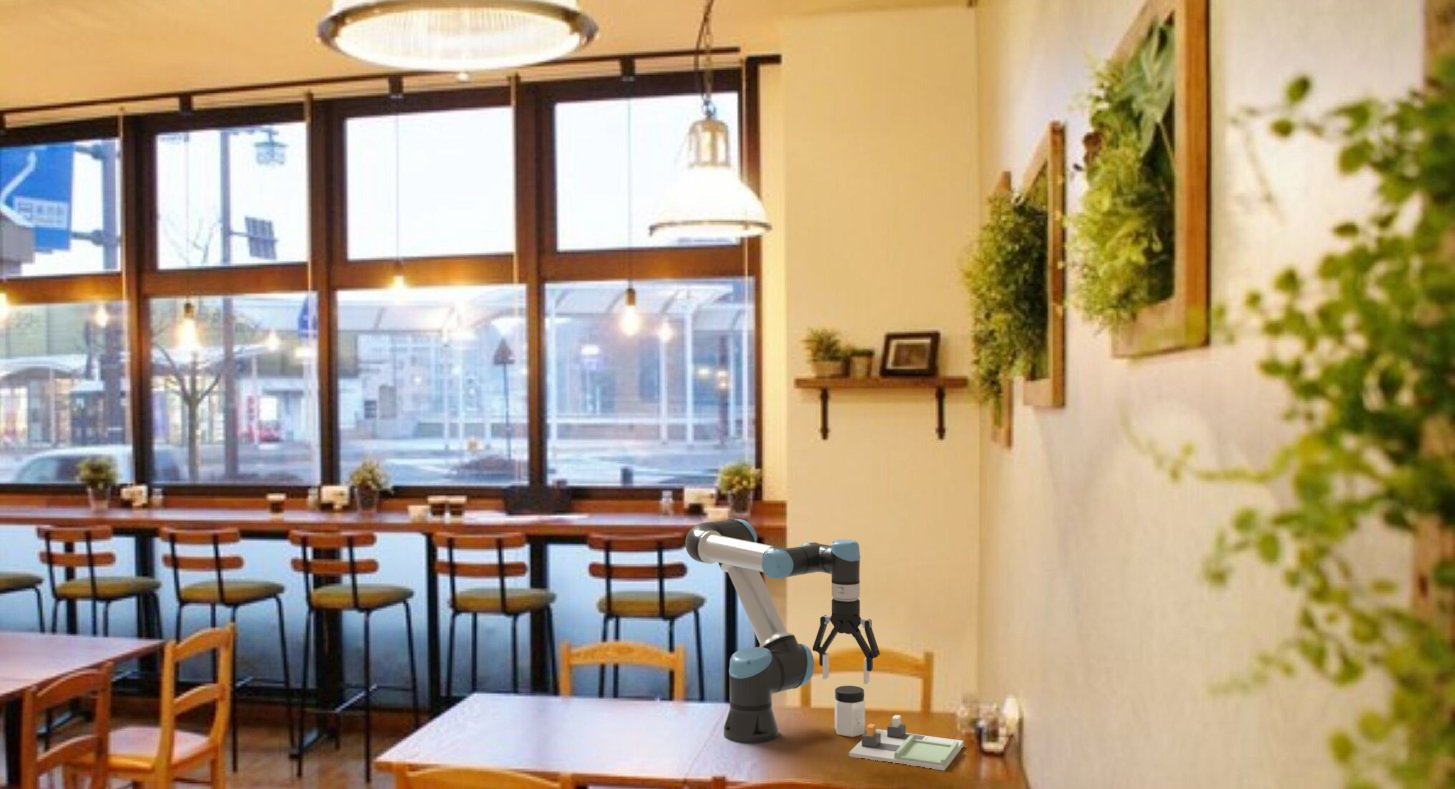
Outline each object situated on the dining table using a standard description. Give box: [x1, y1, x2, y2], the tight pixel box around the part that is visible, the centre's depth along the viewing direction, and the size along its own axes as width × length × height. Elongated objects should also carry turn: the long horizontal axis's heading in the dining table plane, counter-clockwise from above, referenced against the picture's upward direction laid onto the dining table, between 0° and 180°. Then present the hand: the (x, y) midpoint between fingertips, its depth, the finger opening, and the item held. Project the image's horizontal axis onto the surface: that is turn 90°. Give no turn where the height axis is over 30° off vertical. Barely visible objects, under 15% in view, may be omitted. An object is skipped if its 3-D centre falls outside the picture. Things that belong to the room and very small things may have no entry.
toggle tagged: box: [861, 723, 881, 747], centre depth 285 cm, size 4×4×5 cm
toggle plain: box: [886, 714, 907, 738], centre depth 293 cm, size 4×4×5 cm
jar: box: [834, 685, 866, 738], centre depth 300 cm, size 9×8×12 cm
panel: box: [848, 728, 964, 772], centre depth 284 cm, size 25×21×3 cm
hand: (845, 680), depth 288 cm, fingers open, 11 cm apart
